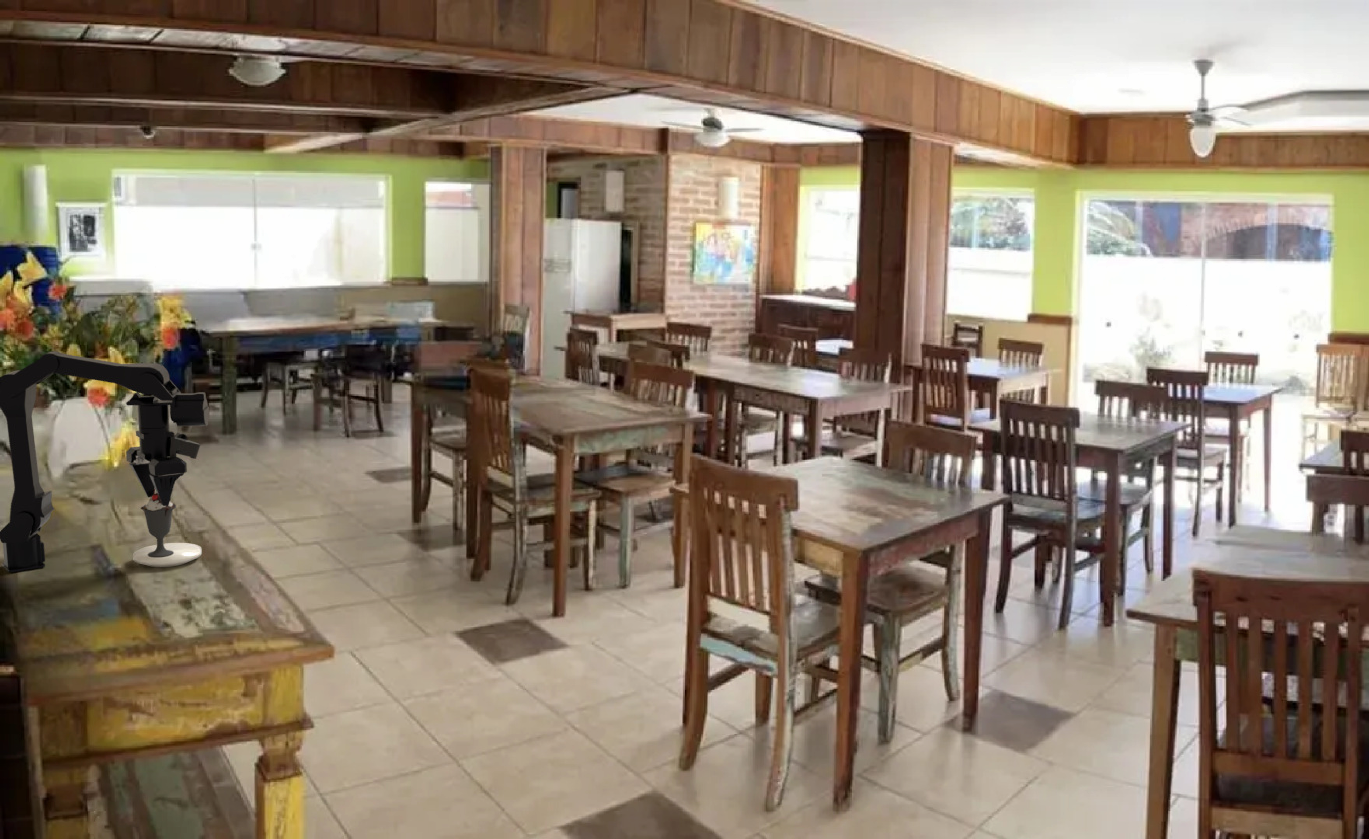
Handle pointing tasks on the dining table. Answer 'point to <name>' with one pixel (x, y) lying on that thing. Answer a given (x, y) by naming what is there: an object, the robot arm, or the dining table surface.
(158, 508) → the sundae
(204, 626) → the dining table surface
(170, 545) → the stand
